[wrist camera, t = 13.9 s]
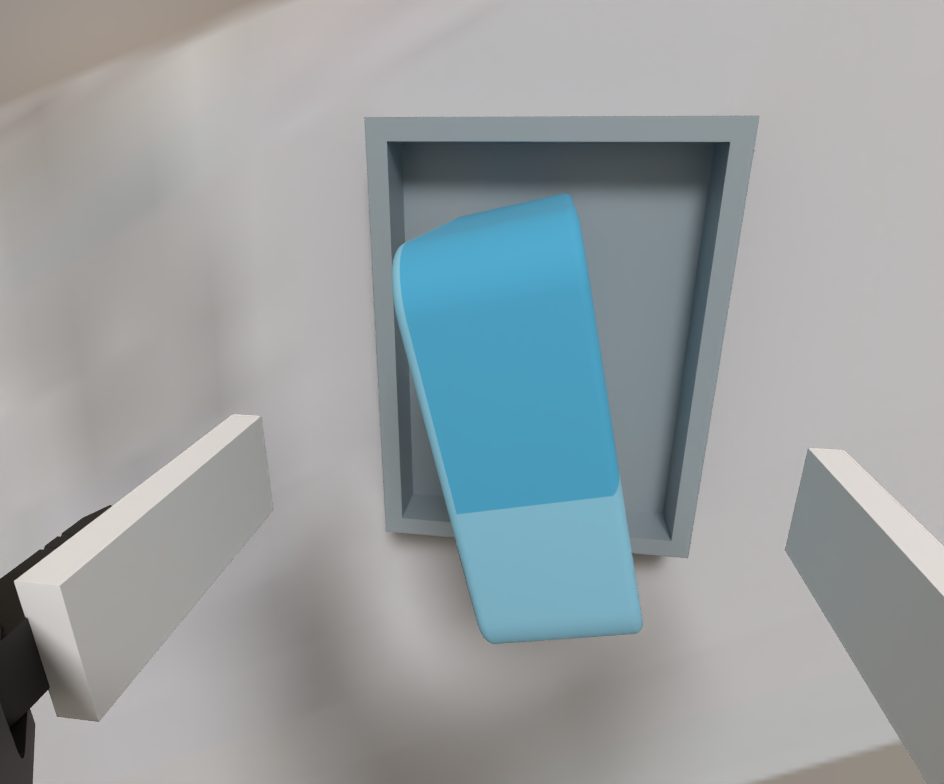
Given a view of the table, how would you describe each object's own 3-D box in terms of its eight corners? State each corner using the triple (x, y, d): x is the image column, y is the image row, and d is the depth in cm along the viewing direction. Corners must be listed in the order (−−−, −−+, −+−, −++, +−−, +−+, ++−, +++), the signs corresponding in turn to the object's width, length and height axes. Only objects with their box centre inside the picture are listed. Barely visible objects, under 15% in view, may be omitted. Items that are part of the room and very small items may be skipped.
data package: (613, 460, 27) (649, 660, 16) (516, 472, 28) (487, 670, 17) (570, 190, 23) (578, 209, 12) (460, 214, 24) (375, 254, 13)
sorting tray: (402, 498, 31) (386, 531, 28) (386, 123, 24) (364, 117, 22) (675, 520, 29) (688, 558, 26) (735, 122, 23) (759, 115, 20)
